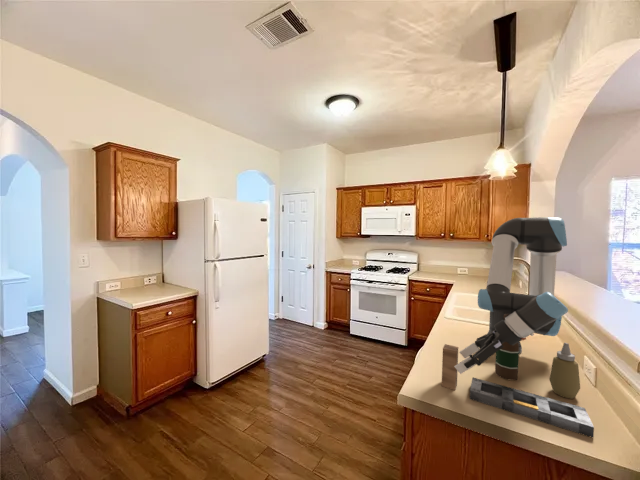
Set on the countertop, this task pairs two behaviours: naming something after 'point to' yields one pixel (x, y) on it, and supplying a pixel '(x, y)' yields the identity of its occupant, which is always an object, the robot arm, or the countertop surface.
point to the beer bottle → (507, 360)
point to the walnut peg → (449, 366)
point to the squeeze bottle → (565, 373)
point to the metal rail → (532, 406)
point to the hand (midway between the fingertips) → (459, 362)
